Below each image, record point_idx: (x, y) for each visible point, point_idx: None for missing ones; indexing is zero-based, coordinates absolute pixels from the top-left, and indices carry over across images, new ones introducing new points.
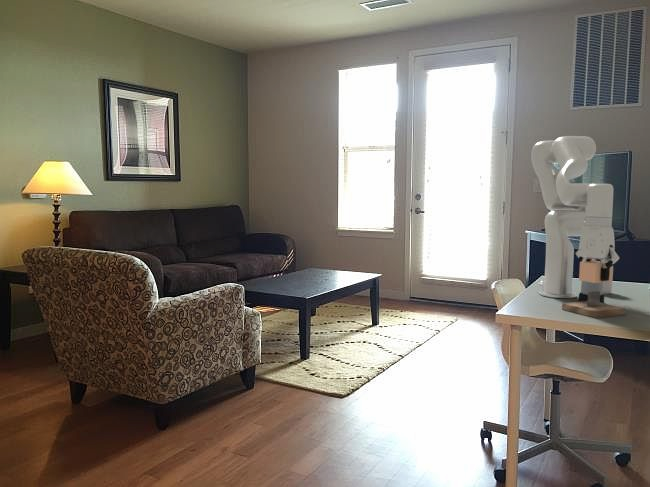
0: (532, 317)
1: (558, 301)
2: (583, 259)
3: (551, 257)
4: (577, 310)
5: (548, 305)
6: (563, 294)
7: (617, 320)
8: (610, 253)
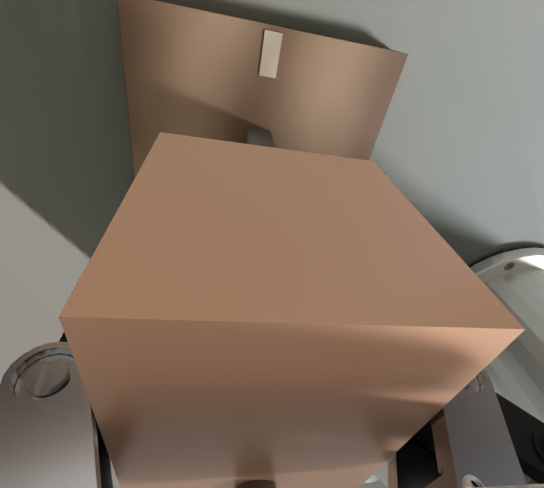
0: None
1: (465, 216)
2: (497, 441)
3: None
4: (279, 26)
5: (487, 84)
6: None
7: (39, 68)
8: None
